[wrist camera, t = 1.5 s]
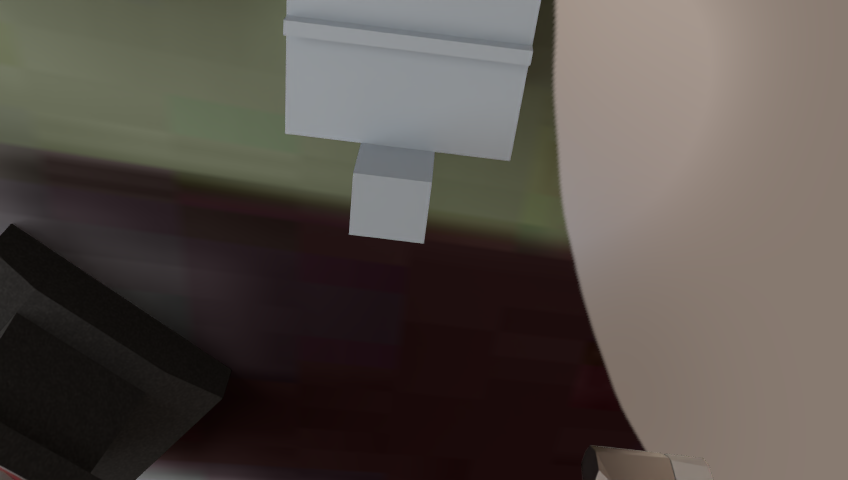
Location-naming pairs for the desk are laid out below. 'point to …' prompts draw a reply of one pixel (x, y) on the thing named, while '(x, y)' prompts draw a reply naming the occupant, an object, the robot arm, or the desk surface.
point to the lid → (406, 92)
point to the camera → (88, 373)
